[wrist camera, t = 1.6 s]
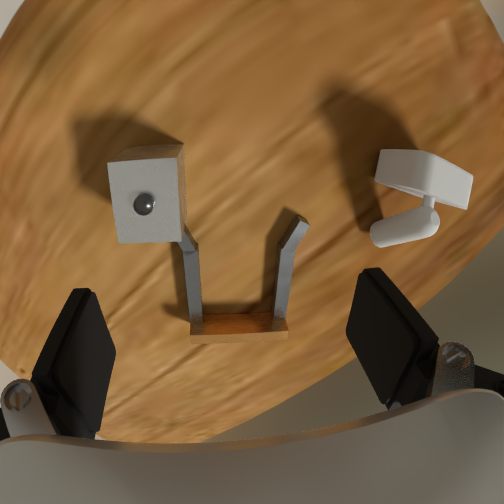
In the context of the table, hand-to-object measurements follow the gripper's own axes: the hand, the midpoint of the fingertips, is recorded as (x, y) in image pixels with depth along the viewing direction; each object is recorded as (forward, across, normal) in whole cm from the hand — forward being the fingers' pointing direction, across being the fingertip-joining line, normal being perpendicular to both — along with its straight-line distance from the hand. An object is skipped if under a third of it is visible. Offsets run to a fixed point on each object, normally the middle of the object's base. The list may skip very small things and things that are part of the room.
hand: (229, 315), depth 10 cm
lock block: (+20, +6, 0) cm, 21 cm away
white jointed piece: (+20, -19, +2) cm, 28 cm away
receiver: (+21, -2, +12) cm, 24 cm away
